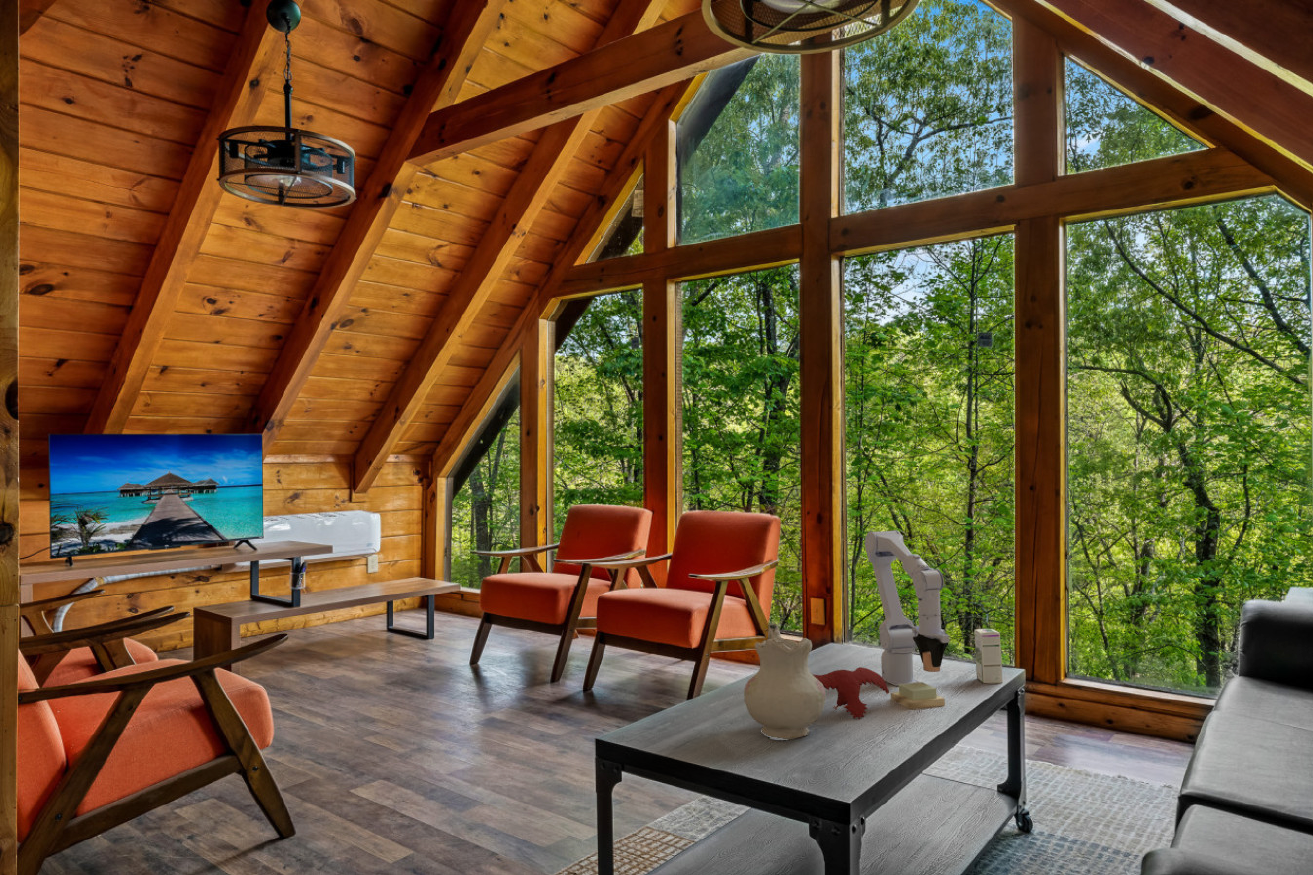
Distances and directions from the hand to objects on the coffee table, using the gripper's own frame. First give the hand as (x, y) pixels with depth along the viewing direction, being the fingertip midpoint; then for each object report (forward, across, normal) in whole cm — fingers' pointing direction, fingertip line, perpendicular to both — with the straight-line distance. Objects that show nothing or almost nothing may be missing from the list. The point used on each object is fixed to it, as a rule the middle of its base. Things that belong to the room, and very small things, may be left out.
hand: (931, 664), depth 234 cm
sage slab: (+7, -4, +7) cm, 10 cm away
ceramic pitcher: (+9, -13, +50) cm, 52 cm away
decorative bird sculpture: (+9, -5, +29) cm, 30 cm away
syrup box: (+9, +8, -24) cm, 27 cm away
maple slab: (+9, -3, +7) cm, 12 cm away
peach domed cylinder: (+1, 0, 0) cm, 1 cm away
